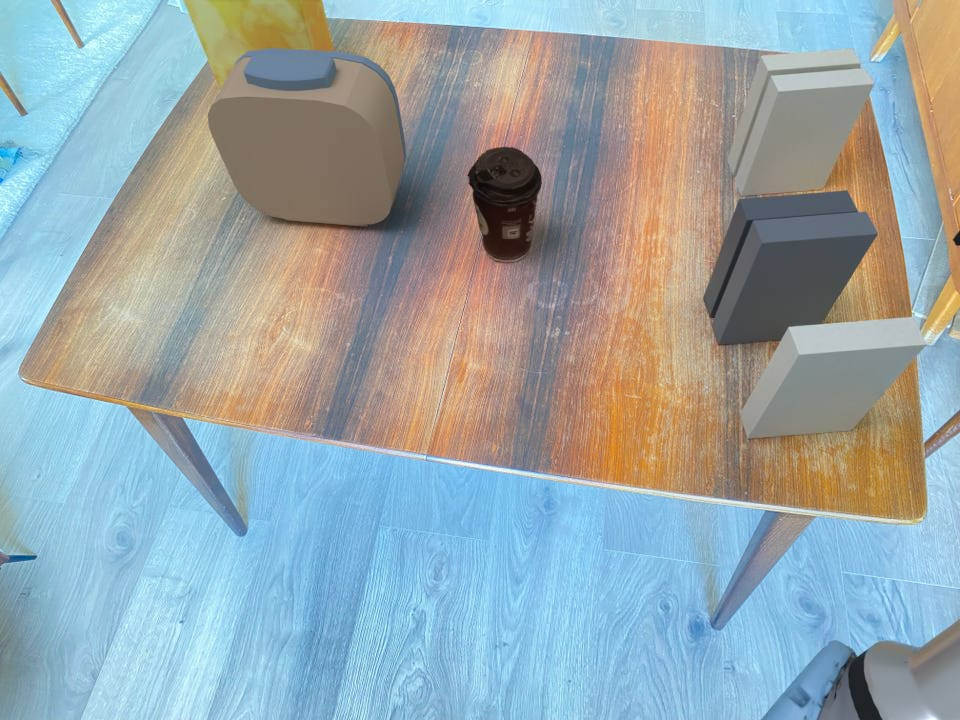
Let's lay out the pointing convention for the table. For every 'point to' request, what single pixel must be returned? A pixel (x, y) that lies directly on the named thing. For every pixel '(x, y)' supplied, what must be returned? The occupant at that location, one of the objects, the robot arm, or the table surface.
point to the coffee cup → (505, 201)
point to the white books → (797, 120)
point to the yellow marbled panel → (256, 28)
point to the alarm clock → (311, 135)
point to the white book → (829, 376)
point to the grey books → (784, 264)
